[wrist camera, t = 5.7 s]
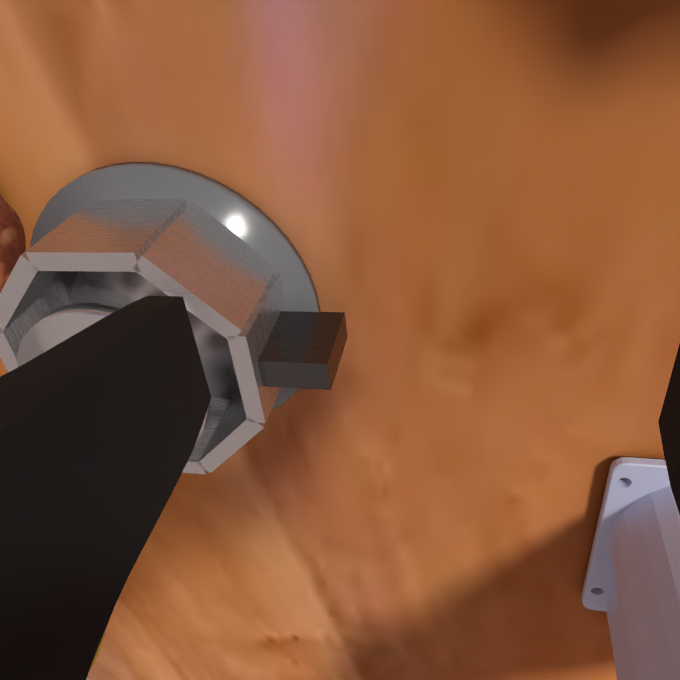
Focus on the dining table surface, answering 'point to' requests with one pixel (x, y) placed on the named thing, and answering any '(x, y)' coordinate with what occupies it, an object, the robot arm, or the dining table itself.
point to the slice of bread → (9, 241)
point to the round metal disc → (196, 187)
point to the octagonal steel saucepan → (200, 299)
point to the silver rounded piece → (109, 296)
